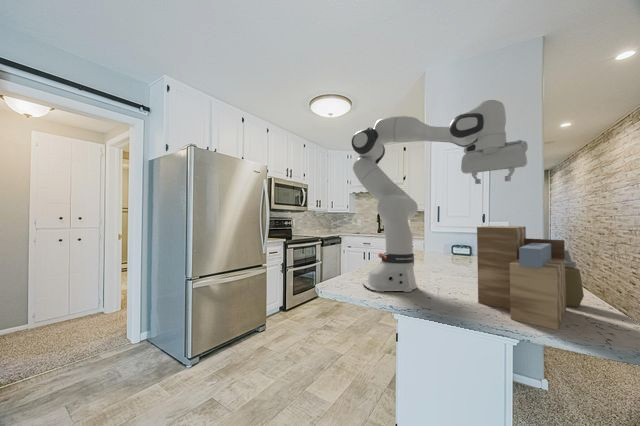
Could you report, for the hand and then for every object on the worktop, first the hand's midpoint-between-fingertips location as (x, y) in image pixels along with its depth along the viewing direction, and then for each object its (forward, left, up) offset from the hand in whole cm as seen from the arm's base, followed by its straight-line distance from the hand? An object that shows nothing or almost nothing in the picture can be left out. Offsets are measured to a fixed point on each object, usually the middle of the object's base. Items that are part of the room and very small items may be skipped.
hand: (492, 182), depth 95 cm
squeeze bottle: (+18, -10, -42) cm, 47 cm away
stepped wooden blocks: (-2, -12, -42) cm, 44 cm away
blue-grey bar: (-2, -18, -26) cm, 32 cm away
